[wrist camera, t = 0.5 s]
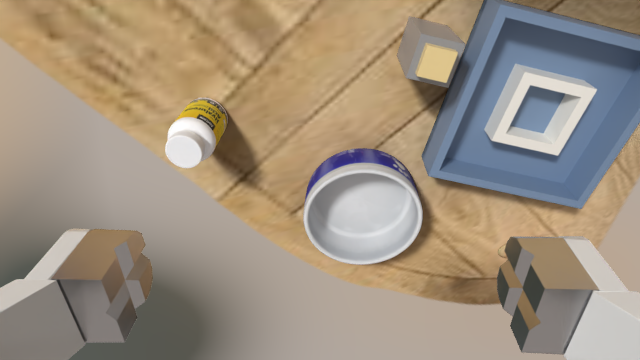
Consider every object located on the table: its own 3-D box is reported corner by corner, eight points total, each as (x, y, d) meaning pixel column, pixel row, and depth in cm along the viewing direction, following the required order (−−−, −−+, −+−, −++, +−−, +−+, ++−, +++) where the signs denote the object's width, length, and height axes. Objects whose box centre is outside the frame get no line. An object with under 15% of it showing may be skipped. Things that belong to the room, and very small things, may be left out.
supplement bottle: (233, 104, 53) (213, 139, 45) (223, 141, 56) (203, 180, 48) (190, 89, 53) (162, 123, 44) (182, 127, 55) (155, 165, 47)
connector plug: (409, 16, 47) (423, 36, 40) (447, 25, 48) (468, 47, 40) (396, 55, 50) (407, 81, 42) (433, 64, 50) (450, 91, 42)
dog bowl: (437, 173, 58) (447, 199, 53) (381, 251, 65) (385, 280, 60) (335, 128, 55) (335, 150, 50) (289, 215, 62) (284, 242, 57)
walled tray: (485, -5, 46) (500, 4, 42) (656, 39, 48) (687, 51, 43) (421, 156, 56) (428, 176, 52) (563, 187, 58) (581, 208, 54)
